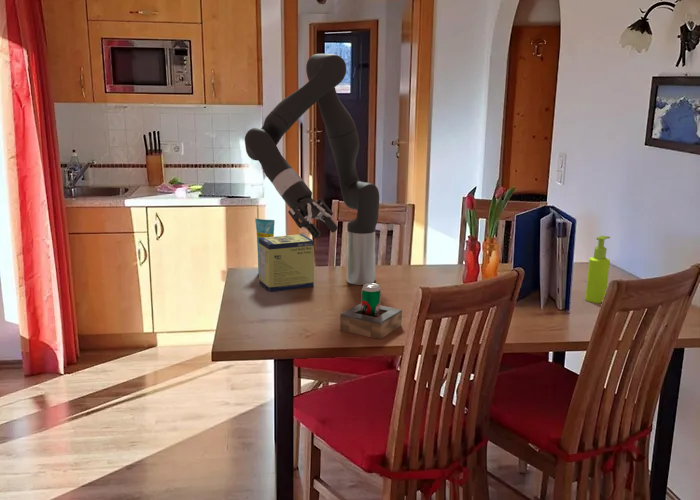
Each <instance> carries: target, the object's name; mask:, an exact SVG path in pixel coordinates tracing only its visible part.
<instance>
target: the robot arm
mask: <svg viewBox="0 0 700 500" xmlns="http://www.w3.org/2000/svg"><path fill="white" fill-rule="evenodd" d="M305 67H306V69H305V72H306V75H307V79H308V81H307V82H306V83H305V84H303V86H302V87H300V88H298V89H297V90H296V91H294V92H292V93H291V94H289V95H288V96H286V97H285V98H284V99H282V100H281V101H280V102H279V103H277V105H276V106H275V107H274V108H273V109H272V110H271V111H270V112H269V113H268V115H267V116H266V117H265V119H264V121H263V125H262V126H261V128H260V127H253V128H251V129H249V130H248V131H246V133H245V136H244V145H245V152H246V155H247V156H248V158H250V159H251V160H253V161H258V162H259V163H260V166H261V169H262V171H263V173H264V174H265V176H266V177H267V178H268V180H269V181H270V183H271V184H272V185H273V186H274V188H275V190H276V191H277V193H278V194H279V196H281V198H282V199H283V201H284V202H285V203H286V205H287V206H288V207H289V210H288V212H287V213H288V214H289V215H290V217H291V219H292V220H293V221H294V222H295V224H296V225H297V227H298V228H299V229H302V228H304V229H305V230H307V231H308V232H309V234H310V235H311V236H312V237H313V238H314V239H318V238H319V237H320V236H322V235H321V234H322V233H321V231H320V230H319V228H317V226H316V225H315V224H314V223H313V220H312V219H316V220H320V221H322V222H323V223H324V225H325V226H326V228H328V229H329V231H330V232H331V233H335V232H337V230H338V229H339V227H338V226H337V224H336V222H335V221H334V220H333V219H332V216H333V215H334V212H333V211H332V210H331V209H330V207H329V206H328V205H327V204H326V202H325V201H324V200H323V199H322V198H318V200H314V199H313V192H312V190H311V188H309V186H308V185H307V184H306V183H305V181H304V180H303V178H302V177H301V176H300V175H299V174H298V172H297V171H295V170H294V169H293V167H292V166H291V165H290V163H289V162H288V161H287V159H285V158H284V156H283V155H282V153H281V151H280V150H279V148H278V147H277V145H278V144H279V142H280V141H281V140H282V138H283V136H284V135H285V134H286V133H287V132H288V131H289V130H290V129H291V127H293V126H294V125H295V124H296V122H297V121H298V120H299V119H300V117H302V116H303V115H304V114H305V113H306V112H307V110H309V109H310V108H311V107H312V106H313V105H315V104H316V103H317V104H318V107H319V112H320V114H321V115H320V116H321V118H322V122H323V124H324V128H325V132H326V135H327V140H328V144H329V147H330V149H331V153H332V156H333V159H334V163H335V167H336V172H337V175H338V181H339V187H340V192H341V197H342V200H343V202H344V205H345V206H346V207H347V208H349V209H352V210H355V211H357V214H356V218H355V219H352V220H349V221H348V222H347V226H346V228H347V233H346V235H347V237H346V239H347V240H346V246H347V247H346V282H347V283H348V284H352V285H356V286H357V285H358V286H362V285H364V284H368V283H375V280H376V255H377V254H376V227H377V224H378V220H379V209H380V191H379V189H378V187H377V186H376V185H375V184H374V183H371V182H365V181H361V180H360V178H359V175H358V171H357V167H356V166H357V165H356V163H357V157H358V153H359V149H360V139H359V138H360V137H359V134H358V130H357V126H356V123H355V121H354V119H353V118H352V116H351V113H350V112H349V111H348V109H347V108H346V107H345V105H344V104H343V103H342V101H341V100H340V98H339V96H338V93H337V91H336V87H338V85H340V84H341V83H342V81H343V80H344V78H345V77H346V74H347V64H346V61H345V60H344V59H343V58H342V57H341V56H340V55H338V54H334V53H315V54H312V55H311V56H309V58H308V59H307V61H306V66H305Z"/></svg>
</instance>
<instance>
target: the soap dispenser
mask: <svg viewBox="0 0 700 500" xmlns="http://www.w3.org/2000/svg"><path fill="white" fill-rule="evenodd" d="M610 238H611V236H606V235H599V236H598V237H596V240H597V241H598V242H597V246H595V247H594V253H593V256H591V257H589V259H588V267H587V268H588V269H587V280H586V289H585V299H584V300H585V301H587V302H589V303H593V304H602V303H601V302H602V300H603V298H604V295H605V292H606V289H607V290H608V281H609V280H608V279H609V271H610V270H609V269H610V262H611V260H610V258H606V256H607V250H608V249H607V247H606V246H605V240H607V239H610ZM606 293H607V292H606Z"/></svg>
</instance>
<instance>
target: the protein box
mask: <svg viewBox="0 0 700 500" xmlns="http://www.w3.org/2000/svg"><path fill="white" fill-rule="evenodd" d="M314 263H315V240H313V239H311V238H309V237H308V236H306V235H304V234H302V233H301V234H300V233H299V234H298V233H297V234H290V235H287V234H286V235H279V236H274V237H264V238H259V272H258V275H259V277H258V278H259V280H258V281H259V285H260V286H262V287H263V288H264V289H266V290H267V291H268V292H269V293H270V292H280V291H287V290H288V291H289V290H296V289H297V290H298V289H307V288H313V287H314V285H315V283H314V280H315V279H314V278H315V276H314V275H315V272H314V271H315V270H314V269H315V268H314V267H315V266H314Z"/></svg>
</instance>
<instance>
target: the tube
mask: <svg viewBox="0 0 700 500" xmlns="http://www.w3.org/2000/svg"><path fill="white" fill-rule="evenodd" d="M254 219H255V221H254V222H255V229H256V242H257V243H256V244H257V267H258V268H257V269H258V271H257V272H258V273H259V238H264V237H275V235H274V234H275V223H276V222H275V219H262V218H254Z"/></svg>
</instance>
